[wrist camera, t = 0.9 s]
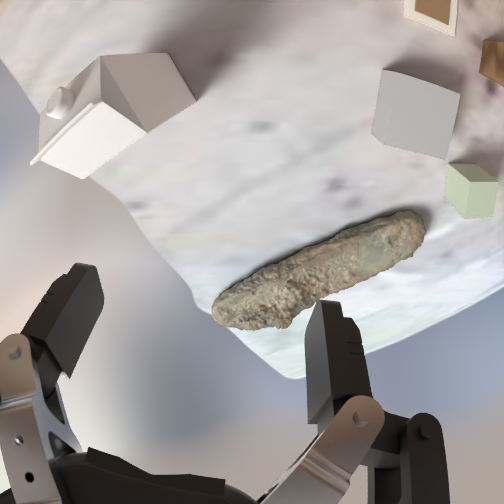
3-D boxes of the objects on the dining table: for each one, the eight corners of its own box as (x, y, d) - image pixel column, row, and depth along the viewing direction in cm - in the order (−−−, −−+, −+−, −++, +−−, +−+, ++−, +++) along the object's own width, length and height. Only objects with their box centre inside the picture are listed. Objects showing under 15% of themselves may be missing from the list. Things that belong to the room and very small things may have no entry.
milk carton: (197, 101, 31) (122, 151, 16) (148, 131, 33) (55, 203, 18) (168, 52, 27) (66, 59, 12) (120, 85, 30) (7, 126, 14)
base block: (381, 69, 27) (397, 72, 23) (439, 87, 27) (460, 94, 23) (370, 133, 32) (384, 144, 28) (426, 146, 32) (445, 160, 28)
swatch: (406, -31, 18) (408, -33, 18) (456, -9, 18) (459, -9, 18) (402, 16, 22) (405, 15, 22) (452, 37, 22) (455, 37, 22)
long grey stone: (423, 240, 41) (404, 185, 37) (437, 258, 37) (420, 200, 33) (235, 330, 53) (199, 292, 49) (232, 352, 48) (193, 314, 44)
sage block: (447, 163, 32) (470, 182, 28) (475, 163, 32) (499, 181, 27) (443, 196, 35) (463, 219, 30) (470, 195, 34) (491, 216, 30)
